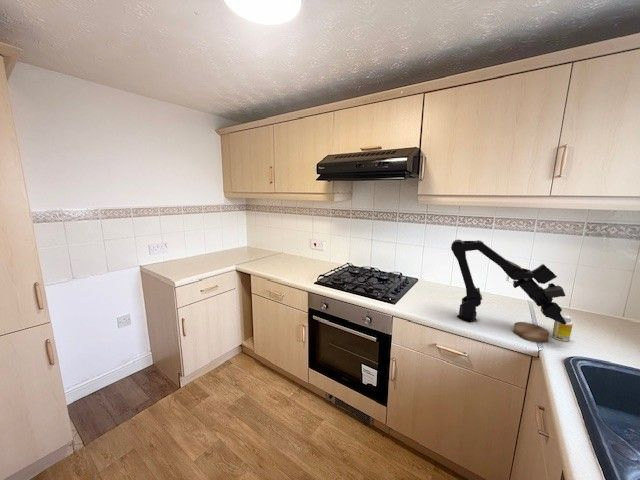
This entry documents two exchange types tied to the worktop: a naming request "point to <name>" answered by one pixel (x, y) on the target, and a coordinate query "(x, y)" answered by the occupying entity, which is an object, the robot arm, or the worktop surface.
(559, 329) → the supplement bottle
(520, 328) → the walnut platform
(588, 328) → the worktop surface
